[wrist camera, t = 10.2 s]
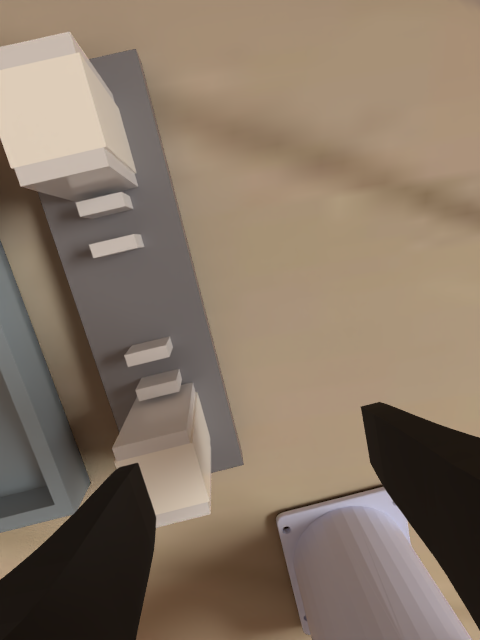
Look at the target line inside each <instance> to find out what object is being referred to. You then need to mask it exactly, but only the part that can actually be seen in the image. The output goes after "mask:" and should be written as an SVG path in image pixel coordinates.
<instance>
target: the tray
mask: <svg viewBox="0 0 480 640" xmlns="http://www.w3.org/2000/svg"><path fill="white" fill-rule="evenodd" d="M90 483H91V482H90V480H89V477H88V474H87V471H86V469H85V466H84V463H83V461H82V458H81V455H80V453H79V450H78V447H77V445H76V442H75V439H74V437H73V434H72V431H71V429H70V426H69V423H68V420H67V418H66V415H65V412H64V410H63V407H62V404H61V402H60V399H59V396H58V394H57V391H56V388H55V386H54V383H53V380H52V378H51V375H50V372H49V369H48V367H47V364H46V361H45V359H44V356H43V353H42V351H41V348H40V345H39V343H38V340H37V337H36V335H35V332H34V329H33V327H32V324H31V321H30V318H29V316H28V313H27V310H26V308H25V305H24V302H23V300H22V297H21V294H20V292H19V289H18V286H17V284H16V281H15V278H14V276H13V273H12V270H11V267H10V265H9V262H8V259H7V257H6V254H5V251H4V249H3V246H2V243H1V241H0V533H1V532H5V531H9V530H13V529H17V528H21V527H25V526H29V525H33V524H37V523H41V522H45V521H49V520H53V519H57V518H61V517H65V516H69V515H73V514H74V513H75V512H76V511H77V509H78V507H79V505H80V503H81V501H82V499H83V497H84V495H85V493H86V491H87V489H88V487H89V485H90Z"/></svg>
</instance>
